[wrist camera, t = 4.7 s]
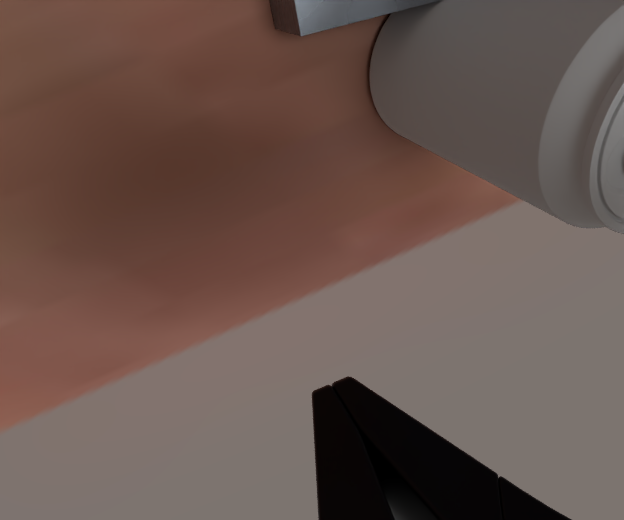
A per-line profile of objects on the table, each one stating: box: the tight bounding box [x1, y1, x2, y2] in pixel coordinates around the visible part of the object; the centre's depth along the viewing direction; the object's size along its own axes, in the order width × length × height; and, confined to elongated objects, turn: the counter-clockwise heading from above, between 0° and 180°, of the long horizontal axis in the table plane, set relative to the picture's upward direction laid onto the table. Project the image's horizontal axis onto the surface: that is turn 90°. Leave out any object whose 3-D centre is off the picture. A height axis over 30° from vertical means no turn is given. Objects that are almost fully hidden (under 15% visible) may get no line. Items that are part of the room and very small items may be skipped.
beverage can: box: [370, 0, 624, 234], centre depth 16 cm, size 6×6×12 cm
